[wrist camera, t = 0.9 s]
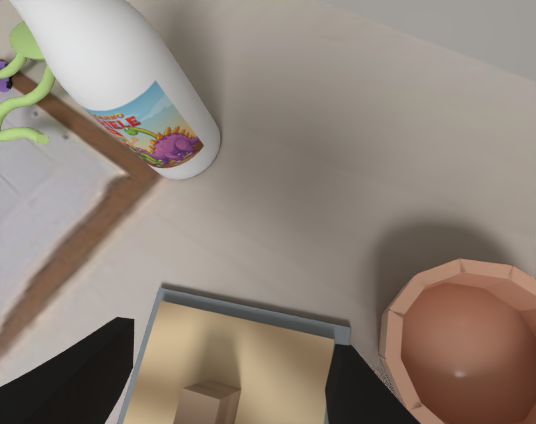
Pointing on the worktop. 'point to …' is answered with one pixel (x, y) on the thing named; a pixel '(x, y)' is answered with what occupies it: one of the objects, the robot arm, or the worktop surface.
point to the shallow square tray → (239, 311)
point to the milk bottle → (125, 80)
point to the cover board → (228, 372)
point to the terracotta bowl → (463, 344)
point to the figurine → (29, 49)
